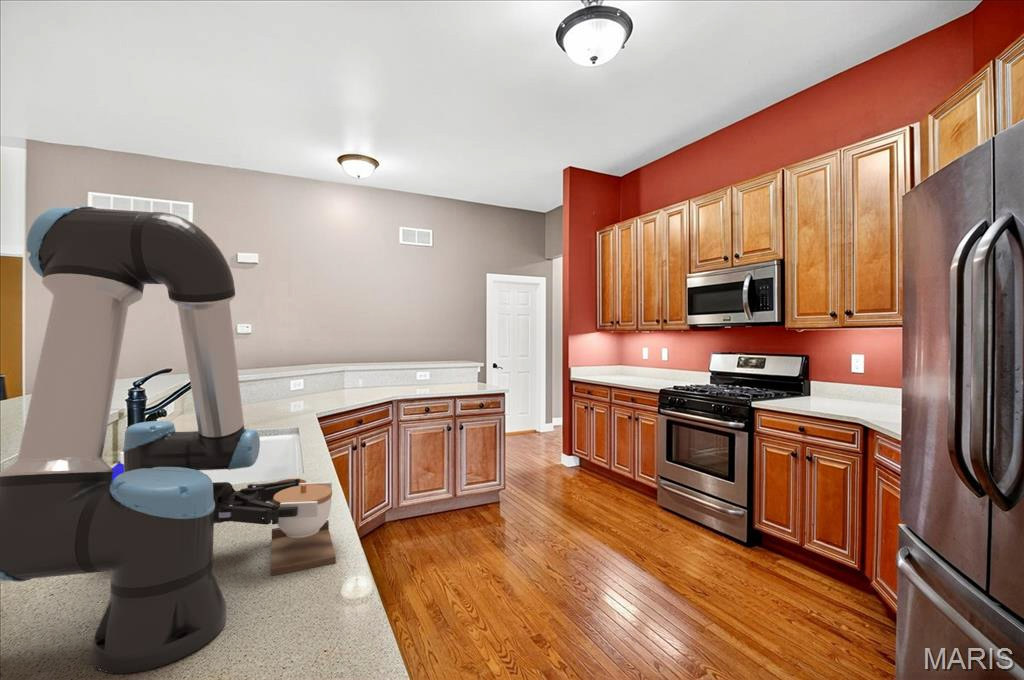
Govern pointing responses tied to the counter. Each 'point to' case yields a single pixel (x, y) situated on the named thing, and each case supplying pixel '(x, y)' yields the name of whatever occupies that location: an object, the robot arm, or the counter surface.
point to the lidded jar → (304, 494)
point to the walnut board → (301, 551)
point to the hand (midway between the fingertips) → (324, 498)
